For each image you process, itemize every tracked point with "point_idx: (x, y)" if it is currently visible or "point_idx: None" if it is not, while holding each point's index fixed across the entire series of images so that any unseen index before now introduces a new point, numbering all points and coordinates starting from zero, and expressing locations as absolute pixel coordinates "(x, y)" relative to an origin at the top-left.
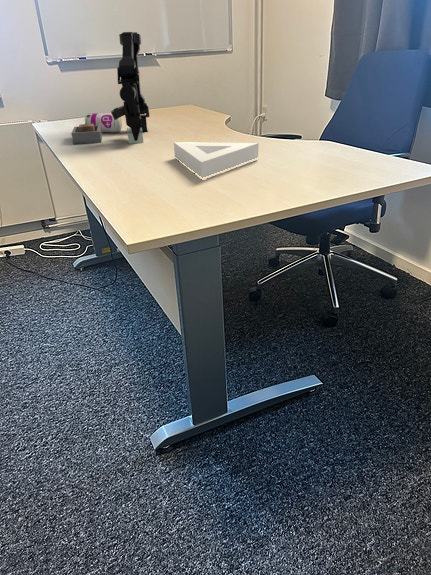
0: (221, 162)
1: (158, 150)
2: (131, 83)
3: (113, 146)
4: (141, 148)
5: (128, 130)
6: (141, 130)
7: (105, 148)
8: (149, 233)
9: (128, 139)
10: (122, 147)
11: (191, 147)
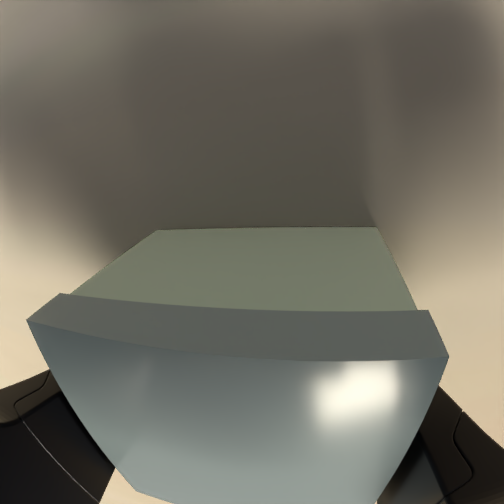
0: None
1: (17, 381)
2: None
3: (60, 54)
4: (19, 320)
5: (88, 361)
6: (130, 483)
7: (21, 14)
8: None
9: (126, 252)
10: (19, 168)
11: None
